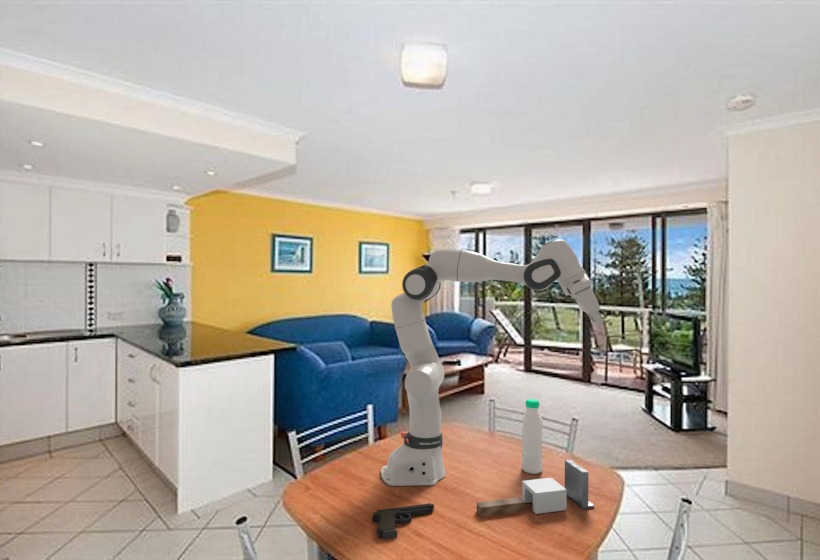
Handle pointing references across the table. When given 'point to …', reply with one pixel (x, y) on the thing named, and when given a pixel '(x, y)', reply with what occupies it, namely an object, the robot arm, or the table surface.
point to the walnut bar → (500, 506)
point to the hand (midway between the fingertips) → (598, 323)
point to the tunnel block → (544, 495)
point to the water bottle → (532, 438)
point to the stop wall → (577, 484)
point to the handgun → (397, 518)
